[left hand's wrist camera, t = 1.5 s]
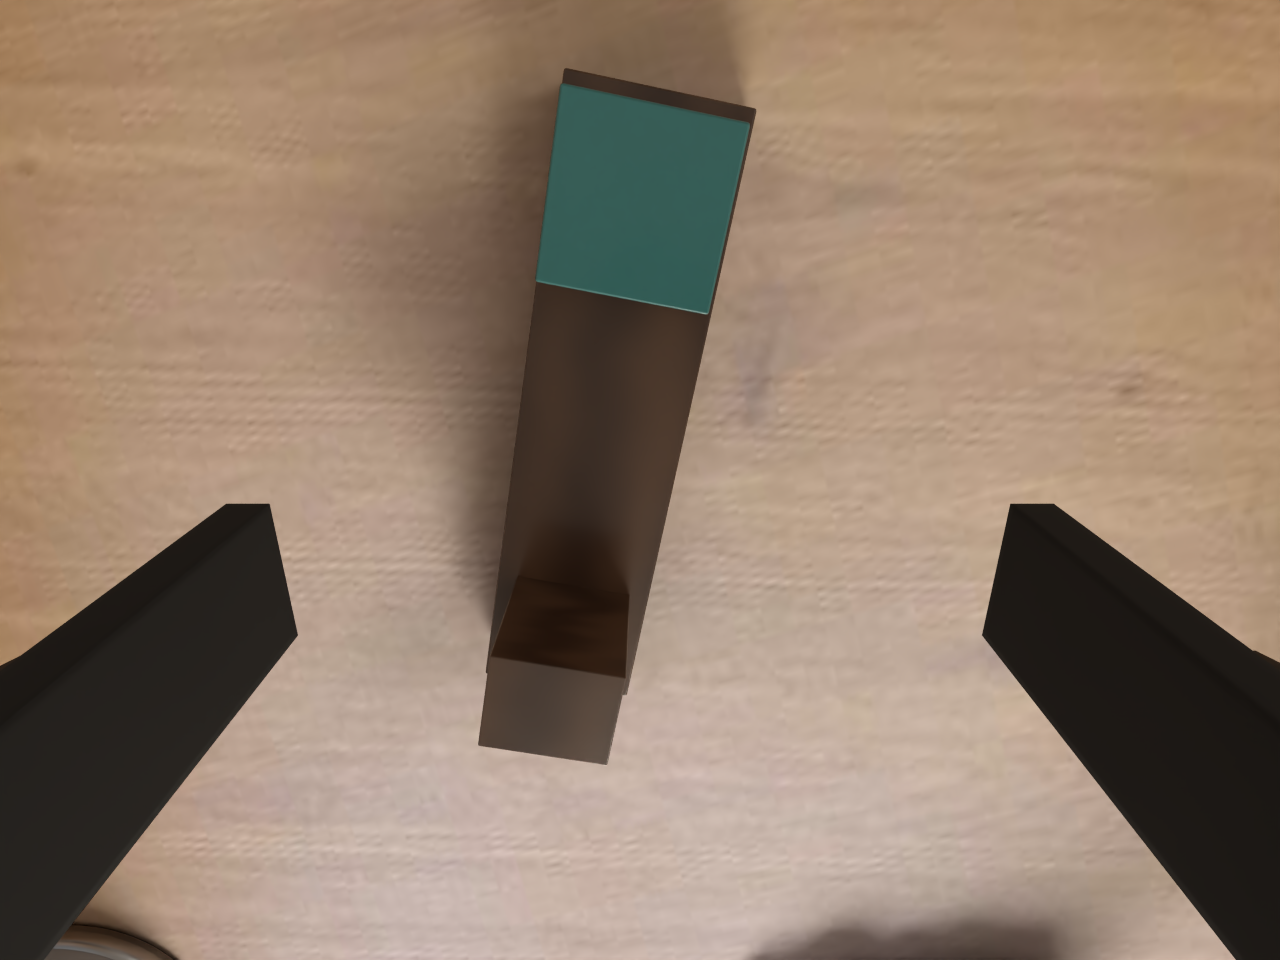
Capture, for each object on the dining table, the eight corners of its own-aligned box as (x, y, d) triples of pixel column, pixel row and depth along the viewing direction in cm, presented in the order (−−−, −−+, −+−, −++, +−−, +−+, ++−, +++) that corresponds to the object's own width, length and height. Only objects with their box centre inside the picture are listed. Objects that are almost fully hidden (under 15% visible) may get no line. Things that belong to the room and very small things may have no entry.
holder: (747, 117, 32) (790, 80, 22) (627, 663, 42) (622, 793, 33) (571, 79, 31) (539, 25, 22) (496, 642, 42) (452, 768, 33)
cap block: (717, 148, 29) (751, 122, 20) (690, 282, 31) (708, 315, 22) (587, 121, 29) (559, 82, 20) (568, 258, 31) (534, 281, 22)
